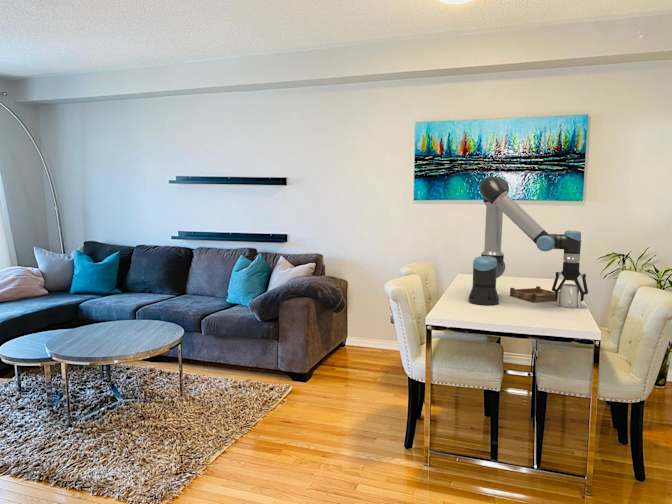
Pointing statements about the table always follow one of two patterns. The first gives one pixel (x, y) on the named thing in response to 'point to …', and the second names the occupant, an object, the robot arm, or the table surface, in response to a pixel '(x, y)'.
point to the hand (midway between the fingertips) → (568, 306)
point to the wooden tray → (533, 294)
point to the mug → (569, 296)
